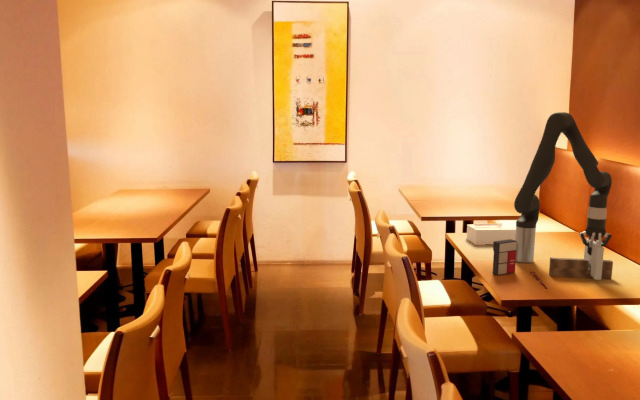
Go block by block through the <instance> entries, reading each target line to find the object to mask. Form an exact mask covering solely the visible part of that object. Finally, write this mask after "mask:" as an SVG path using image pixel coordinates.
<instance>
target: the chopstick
mask: <svg viewBox="0 0 640 400" xmlns="http://www.w3.org/2000/svg"><path fill="white" fill-rule="evenodd" d="M529 273H530V275H532V277H533V278H536V279H535V280H536V281H537V282H538V283H539V284H540V285H541V286H542V287H543V288H544V289H545V290H548V287H547V286H546V285H545V283H544V282H543V281H542V279H541V278H540V277H539V275H537V273H536V272H535V271H529Z"/></svg>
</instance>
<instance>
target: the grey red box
mask: <svg viewBox="0 0 640 400" xmlns="http://www.w3.org/2000/svg"><path fill="white" fill-rule="evenodd" d="M516 246H517V241H515V240H512V239H509V240H501V241H494V242H493V246H492V251H493V258H492V259H493V261H492V274H493V275H496V276H501V275H502V276H503V275H508V274H513V273H515V272H516V265H517V263H516Z"/></svg>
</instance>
